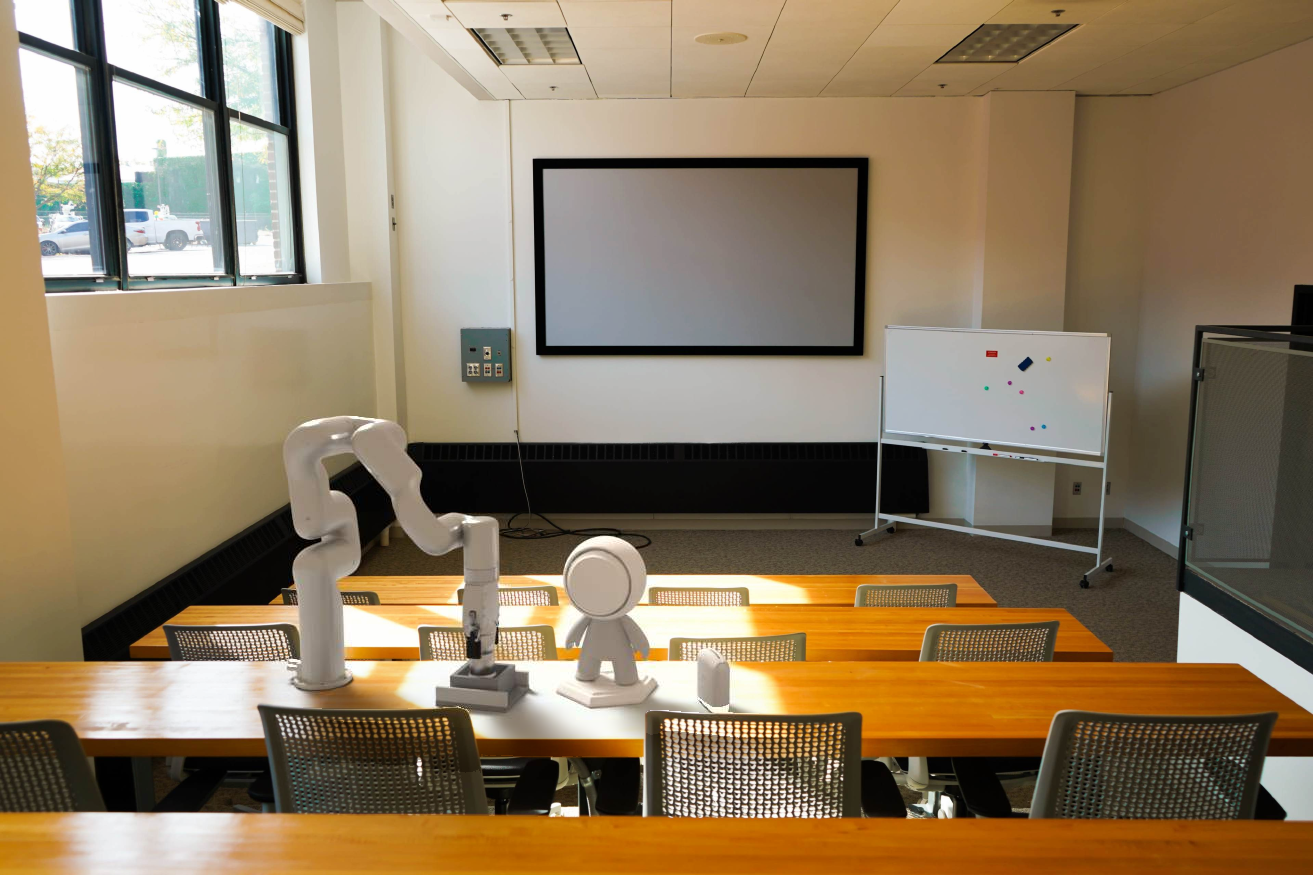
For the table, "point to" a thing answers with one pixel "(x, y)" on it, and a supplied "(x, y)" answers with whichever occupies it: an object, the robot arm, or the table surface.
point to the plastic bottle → (485, 653)
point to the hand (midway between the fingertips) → (482, 650)
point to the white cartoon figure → (606, 623)
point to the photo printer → (713, 678)
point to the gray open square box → (484, 689)
